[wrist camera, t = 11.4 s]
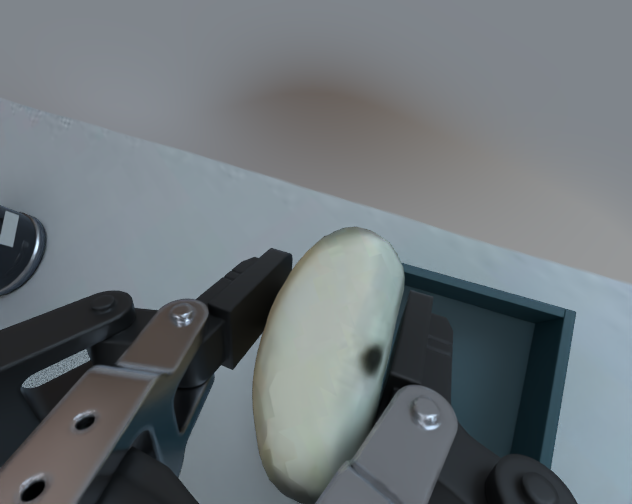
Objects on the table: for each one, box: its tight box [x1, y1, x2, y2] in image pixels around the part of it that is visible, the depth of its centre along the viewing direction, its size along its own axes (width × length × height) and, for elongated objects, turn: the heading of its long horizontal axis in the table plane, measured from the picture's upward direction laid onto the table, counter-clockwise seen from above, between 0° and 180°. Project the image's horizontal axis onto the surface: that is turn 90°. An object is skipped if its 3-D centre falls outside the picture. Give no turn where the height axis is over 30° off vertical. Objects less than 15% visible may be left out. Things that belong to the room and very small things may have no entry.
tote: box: [380, 263, 576, 470], centre depth 22 cm, size 13×14×4 cm
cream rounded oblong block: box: [252, 227, 405, 504], centre depth 10 cm, size 6×5×8 cm
